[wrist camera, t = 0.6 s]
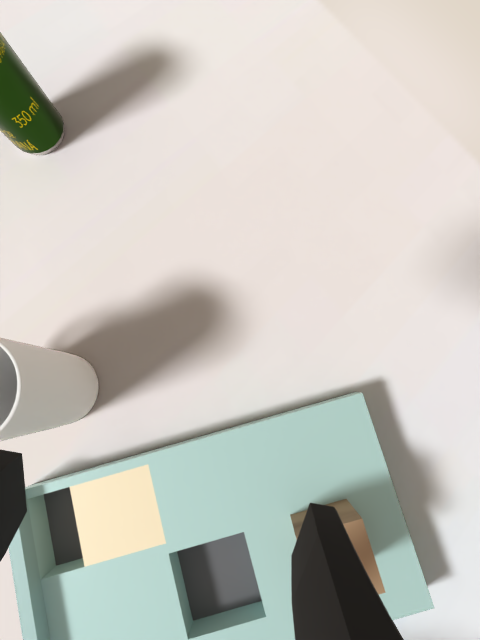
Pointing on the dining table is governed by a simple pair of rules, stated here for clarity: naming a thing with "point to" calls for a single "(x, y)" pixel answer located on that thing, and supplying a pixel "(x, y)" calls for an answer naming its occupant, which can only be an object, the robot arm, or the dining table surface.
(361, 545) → the walnut block
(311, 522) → the robot arm
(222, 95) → the dining table surface
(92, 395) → the mug
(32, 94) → the beer can
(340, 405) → the board
